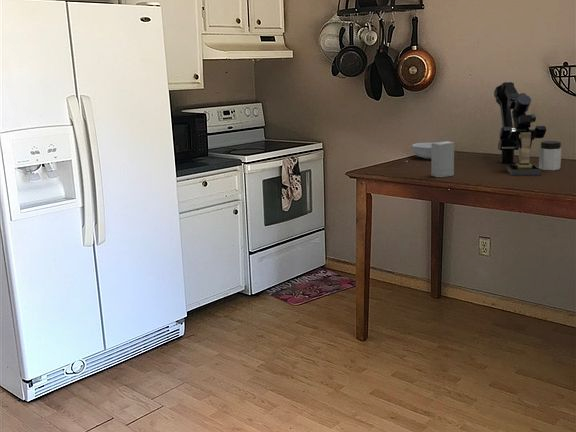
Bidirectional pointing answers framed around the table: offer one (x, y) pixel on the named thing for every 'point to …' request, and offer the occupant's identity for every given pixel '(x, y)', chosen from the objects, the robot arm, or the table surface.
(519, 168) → the gray square tray
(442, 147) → the skincare box
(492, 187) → the table surface
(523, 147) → the tan square peg
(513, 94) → the robot arm
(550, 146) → the jar
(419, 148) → the serving bowl
